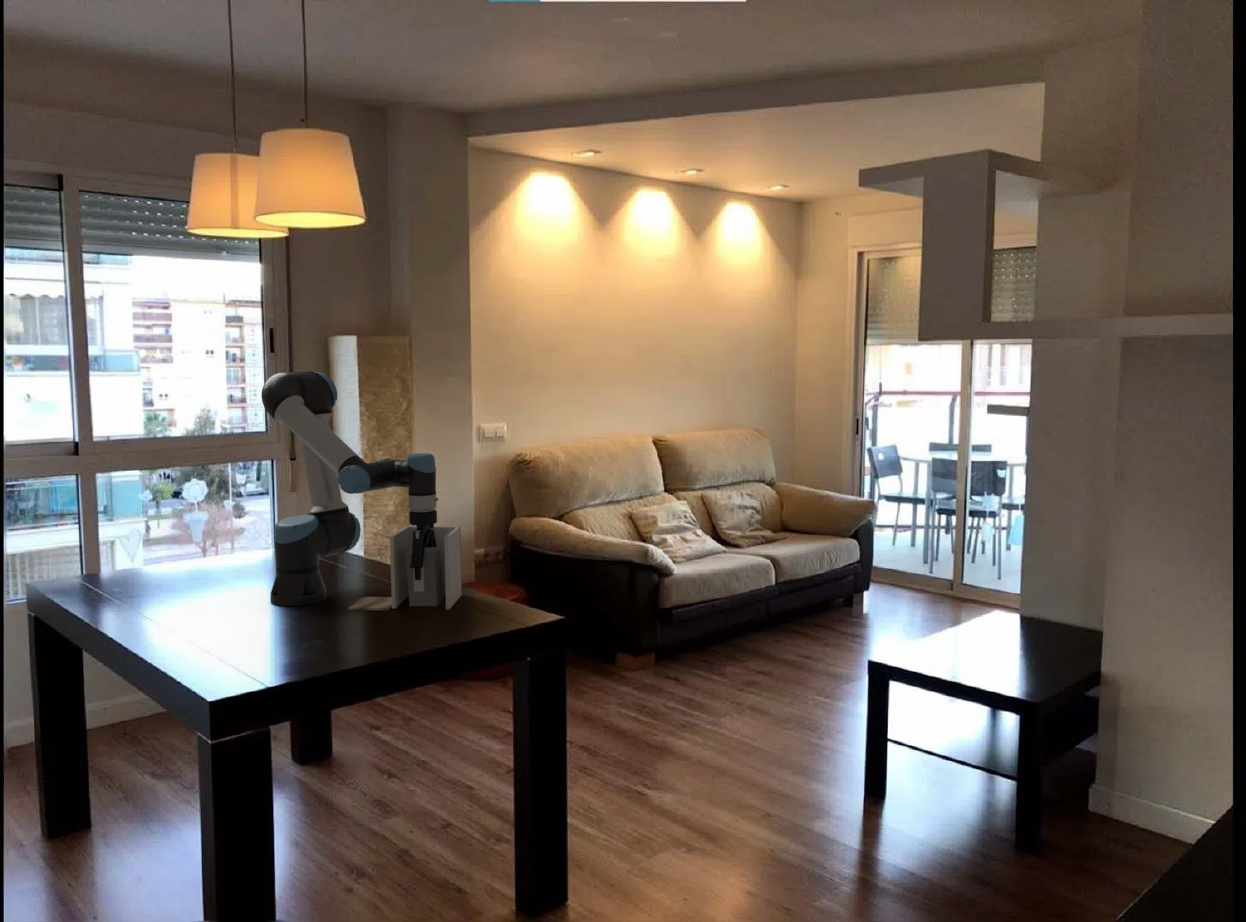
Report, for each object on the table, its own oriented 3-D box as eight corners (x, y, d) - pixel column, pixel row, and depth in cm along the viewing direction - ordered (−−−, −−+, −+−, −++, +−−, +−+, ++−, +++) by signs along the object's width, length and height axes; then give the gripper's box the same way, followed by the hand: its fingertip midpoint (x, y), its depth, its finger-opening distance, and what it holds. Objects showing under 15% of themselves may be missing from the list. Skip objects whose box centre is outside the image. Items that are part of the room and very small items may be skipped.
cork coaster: (348, 609, 275) (348, 607, 275) (361, 598, 287) (361, 596, 286) (388, 610, 274) (387, 608, 274) (399, 599, 286) (399, 597, 286)
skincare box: (443, 601, 284) (442, 546, 282) (436, 608, 277) (435, 551, 275) (414, 600, 285) (412, 545, 283) (406, 607, 278) (404, 550, 276)
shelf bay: (391, 608, 276) (389, 536, 274) (407, 594, 292) (405, 526, 290) (449, 609, 275) (448, 537, 273) (461, 594, 291) (460, 526, 289)
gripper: (425, 517, 265) (427, 596, 267) (446, 502, 290) (448, 575, 292) (397, 517, 265) (399, 596, 268) (420, 502, 290) (423, 575, 292)
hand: (425, 585), depth 280 cm, fingers open, 13 cm apart
